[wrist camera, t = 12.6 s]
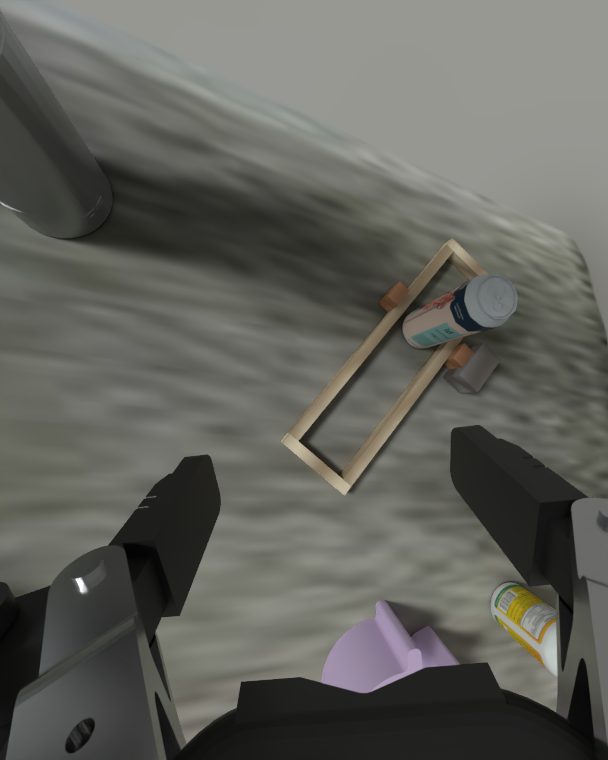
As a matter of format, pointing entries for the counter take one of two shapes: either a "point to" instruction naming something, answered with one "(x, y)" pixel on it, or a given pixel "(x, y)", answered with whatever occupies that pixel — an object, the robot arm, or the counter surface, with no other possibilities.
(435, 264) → the beam track
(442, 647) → the clip
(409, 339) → the beer can
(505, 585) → the supplement bottle
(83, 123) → the counter surface
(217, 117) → the counter surface
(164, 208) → the counter surface
